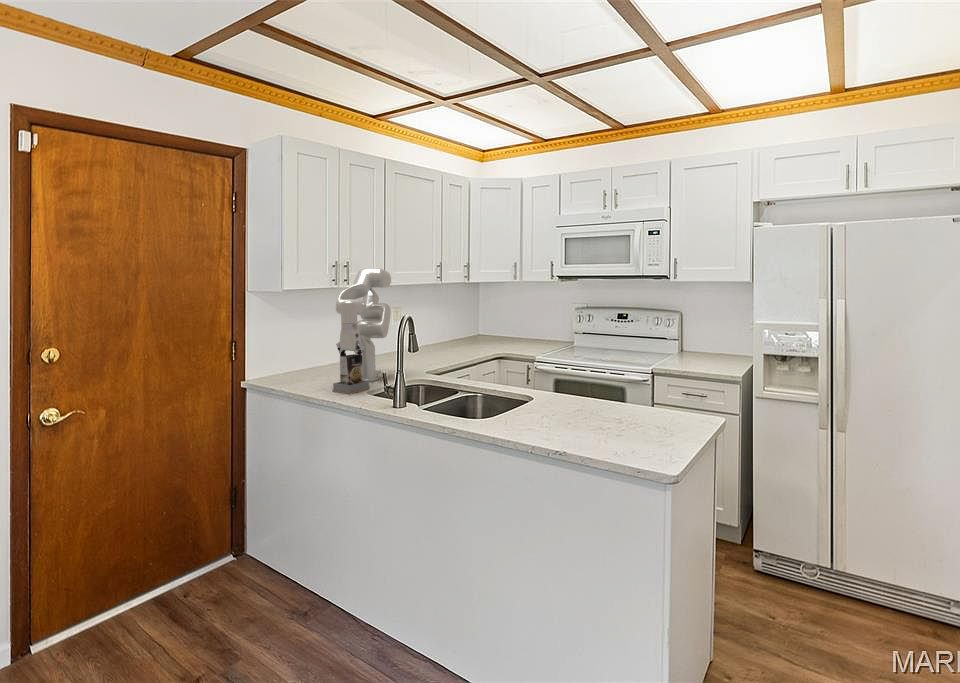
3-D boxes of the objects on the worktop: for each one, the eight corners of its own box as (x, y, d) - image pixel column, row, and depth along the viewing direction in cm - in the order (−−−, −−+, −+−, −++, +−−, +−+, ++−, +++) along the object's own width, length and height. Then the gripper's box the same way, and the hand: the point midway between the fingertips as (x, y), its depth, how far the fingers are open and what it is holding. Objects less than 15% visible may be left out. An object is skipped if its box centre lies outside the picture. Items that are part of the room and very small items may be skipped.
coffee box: (349, 390, 268) (348, 357, 266) (340, 389, 271) (339, 355, 269) (363, 387, 275) (362, 354, 273) (354, 386, 279) (353, 353, 277)
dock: (353, 386, 282) (353, 378, 281) (369, 389, 276) (369, 381, 275) (332, 391, 270) (332, 383, 270) (349, 394, 265) (349, 386, 264)
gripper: (368, 327, 268) (369, 362, 270) (342, 325, 277) (343, 359, 279) (356, 328, 262) (358, 365, 264) (330, 326, 271) (331, 361, 273)
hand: (350, 362), depth 271 cm, fingers open, 9 cm apart
